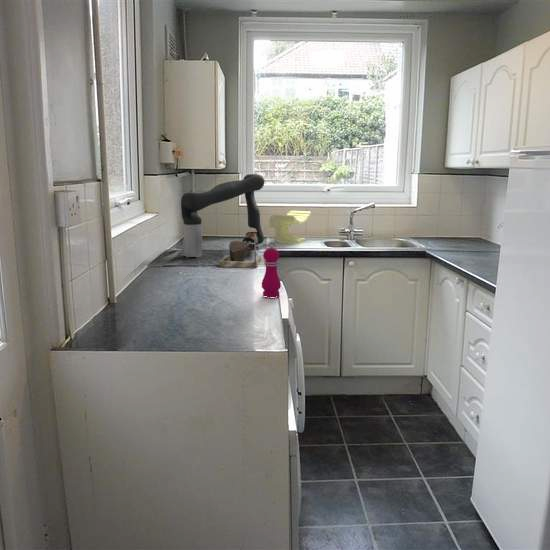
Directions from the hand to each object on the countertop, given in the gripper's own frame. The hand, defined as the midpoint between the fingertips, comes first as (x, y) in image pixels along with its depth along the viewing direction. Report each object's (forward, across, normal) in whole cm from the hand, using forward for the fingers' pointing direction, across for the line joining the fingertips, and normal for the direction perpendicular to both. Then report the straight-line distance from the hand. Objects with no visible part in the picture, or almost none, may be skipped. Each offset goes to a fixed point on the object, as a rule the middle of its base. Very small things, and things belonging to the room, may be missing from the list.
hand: (244, 248), depth 264 cm
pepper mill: (+70, +22, +6) cm, 73 cm away
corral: (+11, 0, +6) cm, 12 cm away
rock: (+8, -2, +6) cm, 10 cm away
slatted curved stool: (-60, +19, +6) cm, 64 cm away
